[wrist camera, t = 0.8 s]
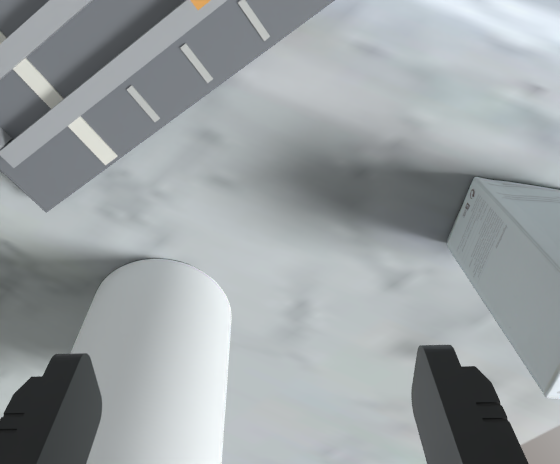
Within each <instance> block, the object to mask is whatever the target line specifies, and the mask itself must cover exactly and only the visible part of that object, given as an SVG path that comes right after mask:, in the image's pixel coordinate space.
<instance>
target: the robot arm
mask: <svg viewBox="0 0 560 464" xmlns="http://www.w3.org/2000/svg"><path fill="white" fill-rule="evenodd" d="M412 407H413V413H414V417H415V421H416V424H417V428H418V432H419V435H420V439H421V443H422V446H423V450H424V453H425V457H426V461H427V464H528V462H527V459H526V457H525V455H524V453H523V451H522V449H521V446H520V444H519V442H518V440H517V438H516V435H515V433H514V431H513V429H512V427H511V424H510V422H509V421H508V420H507V416H506V413H505V411H504V409H503V407H502V406H501V405H500V400H499V398H498V396H497V394H496V391H495V389H494V387H493V385H492V383H491V382H490V381H489V380H488V379H487V378H486V377H485V376H484V375H483V374H482V373H481V372H480V371H479V370H478V369H477V368H476V367H475V366H469V367H461V365H460V363H459V360H458V358H457V355H456V353H455V351H454V348H453V347H452V346H451V345H425V346H419V348H418V351H417V357H416V364H415V371H414V377H413V384H412ZM101 415H102V397H101V393H100V389H99V386H98V382H97V379H96V375H95V372H94V368H93V365H92V361H91V358H90V356H89V355H88V354H87V353H80V354H55V355H54V356H53V357H52V358H51V360H50V362H49V364H48V366H47V368H46V370H45V373H44V375H43V377H31V378H30V379H29V380H28V381H27V382H26V383H25V384H24V385H23V386H22V387H21V388H19V389H18V390H17V391H16V392H15V393H14V395H13V397H12V398H11V400H10V402H9V404H8V406H7V408H6V410H5V412H4V417H2V418H1V419H0V464H86V463H87V460H88V457H89V454H90V451H91V448H92V445H93V442H94V439H95V436H96V433H97V430H98V427H99V424H100V420H101Z"/></svg>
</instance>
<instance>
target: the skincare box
mask: <svg viewBox="0 0 560 464" xmlns="http://www.w3.org/2000/svg"><path fill="white" fill-rule="evenodd" d="M447 247H448V248H449V250H450V251H451V253H452V255H453V256H454V258H455V259H456V261H457V262H458V264H459V265H460V267H461V268H462V270H463V272H464V273H465V275H466V276H467V278H468V279H469V281H470V282H471V284H472V285H473V287H474V288H475V290H476V291H477V293H478V295H479V296H480V298H481V299H482V301H483V302H484V304H485V305H486V307H487V308H488V310H489V311H490V313H491V314H492V316H493V317H494V319H495V321H496V322H497V323H498V325H499V326H500V328H501V329H502V331H503V332H504V334H505V336H506V337H507V339H508V340H509V342H510V343H511V345H512V346H513V348H514V349H515V351H516V352H517V354H518V355H519V357H520V358H521V360H522V361H523V363H524V364H525V366H526V368H527V369H528V371H529V372H530V374H531V375H532V377H533V378H534V380H535V381H536V383H537V384H538V386H539V387H540V389H541V391H542V392H543V394H544V396H545V397H546V398H554V399H560V190H558V189H552V188H546V187H539V186H533V185H527V184H520V183H514V182H507V181H498V180H490V179H485V178H480V177H475V178H474V179H473V181H472V183H471V185H470V188H469V190H468V193H467V196H466V198H465V200H464V203H463V205H462V207H461V210H460V212H459V214H458V216H457V218H456V221H455V223H454V226H453V228H452V230H451V233H450V235H449V237H448V240H447Z"/></svg>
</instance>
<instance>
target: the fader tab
mask: <svg viewBox="0 0 560 464" xmlns="http://www.w3.org/2000/svg"><path fill="white" fill-rule="evenodd" d="M190 1H191V2H192V3H193V5H194V6H195V7H196V9H197V10H199V9H201V8H202V7H203V6H204V5H206V4H207V3H208V2H209V1H211V0H190Z"/></svg>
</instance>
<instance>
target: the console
mask: <svg viewBox="0 0 560 464" xmlns="http://www.w3.org/2000/svg"><path fill="white" fill-rule="evenodd" d="M333 1H335V0H211V1H209V2H208V3H207V4H206V5H204V6H203V7H202V8H201V9H199V10H197V9H196V7H195V6H194V5H193V3H192V2H191V1H190V0H0V170H1V171H2V172H3V173H4V174H5V175H6V176H7V177H8V178H9V179H10V180H11V181H13V182H14V183H15V184H16V185H17V186H18V187H19V188H20V189H21V190H22V191H23V192H24V193H26V194H27V195H28V196H29V197H30V198H31V199H32V200H33V201H34V202H35V203H36V204H37V205H39V206H40V207H41V208H42V209H43V210H44V211H45V212H48V211H49V210H51V209H52V208H53V207H55V206H56V205H57V204H59V203H60V202H61V201H63V200H64V199H66V198H67V197H68V196H70V195H71V194H72V193H74V192H75V191H76V190H78V189H79V188H80V187H82V186H83V185H85V184H86V183H87V182H89V181H90V180H91V179H93V178H94V177H95V176H97V175H98V174H99V173H101V172H102V171H104V170H105V169H106V168H108V167H109V166H110V165H112V164H113V163H114V162H116V161H117V160H118V159H120V158H121V157H123V156H124V155H125V154H127V153H128V152H129V151H131V150H132V149H133V148H135V147H136V146H138V145H139V144H140V143H142V142H143V141H144V140H146V139H147V138H148V137H150V136H151V135H152V134H154V133H155V132H157V131H158V130H159V129H161V128H162V127H163V126H165V125H166V124H167V123H169V122H170V121H171V120H173V119H174V118H176V117H177V116H178V115H180V114H181V113H182V112H184V111H185V110H186V109H188V108H189V107H191V106H192V105H193V104H195V103H196V102H197V101H199V100H200V99H201V98H203V97H204V96H205V95H207V94H208V93H210V92H211V91H212V90H214V89H215V88H216V87H218V86H219V85H220V84H222V83H223V82H224V81H226V80H227V79H229V78H230V77H231V76H233V75H234V74H235V73H237V72H238V71H239V70H241V69H242V68H243V67H245V66H246V65H248V64H249V63H250V62H252V61H253V60H254V59H256V58H257V57H258V56H260V55H261V54H263V53H264V52H265V51H267V50H268V49H269V48H271V47H272V46H273V45H275V44H276V43H277V42H279V41H280V40H282V39H283V38H284V37H286V36H287V35H288V34H290V33H291V32H292V31H294V30H295V29H296V28H298V27H299V26H301V25H302V24H303V23H305V22H306V21H307V20H309V19H310V18H311V17H313V16H314V15H315V14H317V13H318V12H320V11H321V10H322V9H324V8H325V7H326V6H328V5H329V4H330V3H332V2H333Z"/></svg>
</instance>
